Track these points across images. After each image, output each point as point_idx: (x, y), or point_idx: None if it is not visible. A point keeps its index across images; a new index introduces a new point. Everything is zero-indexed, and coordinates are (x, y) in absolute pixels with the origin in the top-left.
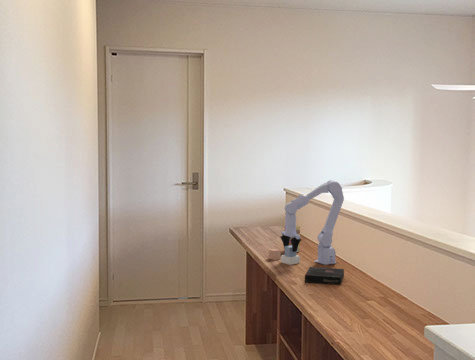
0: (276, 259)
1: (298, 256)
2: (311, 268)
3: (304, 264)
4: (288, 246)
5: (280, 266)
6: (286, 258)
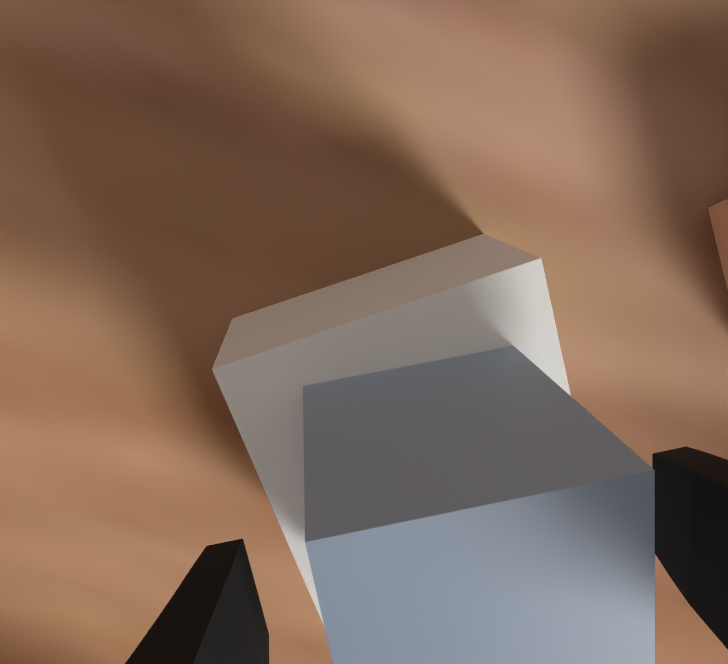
0: (718, 247)
1: (310, 592)
2: None
3: (170, 555)
4: (530, 579)
5: (145, 48)
6: (344, 312)
